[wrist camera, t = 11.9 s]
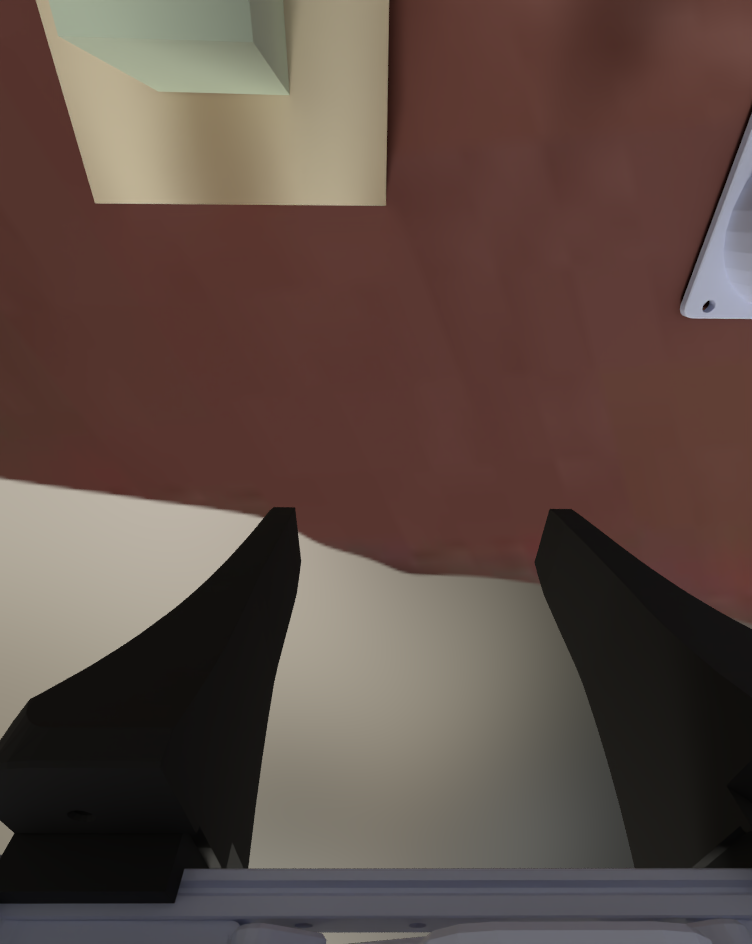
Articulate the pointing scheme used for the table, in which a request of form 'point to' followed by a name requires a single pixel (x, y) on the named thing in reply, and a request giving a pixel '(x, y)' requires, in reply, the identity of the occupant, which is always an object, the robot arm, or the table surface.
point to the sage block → (184, 42)
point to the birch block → (242, 121)
